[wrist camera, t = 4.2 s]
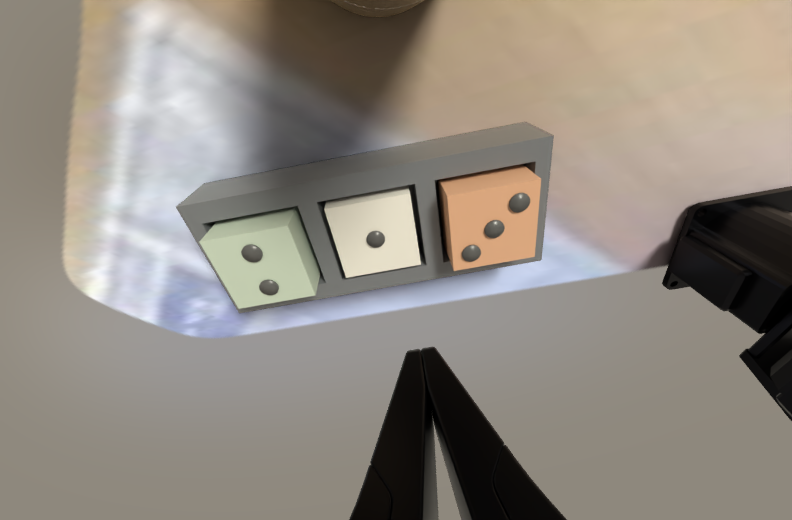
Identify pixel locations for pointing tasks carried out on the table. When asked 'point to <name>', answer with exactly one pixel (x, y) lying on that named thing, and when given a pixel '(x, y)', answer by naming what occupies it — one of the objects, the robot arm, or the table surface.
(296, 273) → the tile two dots
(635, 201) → the table surface
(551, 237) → the table surface
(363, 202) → the tile one dot
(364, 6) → the supplement bottle
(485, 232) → the tile three dots
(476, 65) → the table surface
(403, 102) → the table surface
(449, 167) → the grey tile tray
